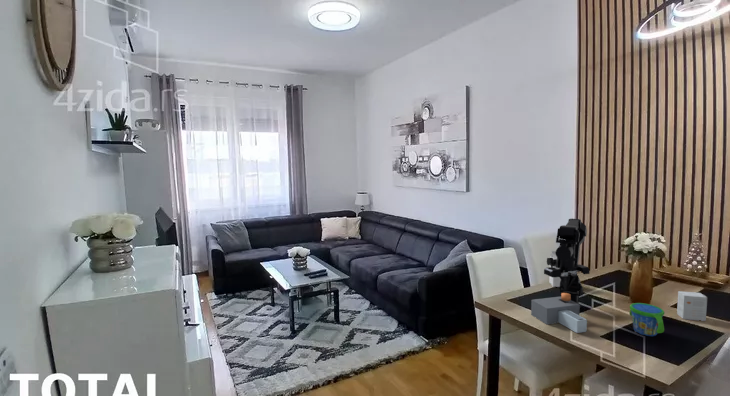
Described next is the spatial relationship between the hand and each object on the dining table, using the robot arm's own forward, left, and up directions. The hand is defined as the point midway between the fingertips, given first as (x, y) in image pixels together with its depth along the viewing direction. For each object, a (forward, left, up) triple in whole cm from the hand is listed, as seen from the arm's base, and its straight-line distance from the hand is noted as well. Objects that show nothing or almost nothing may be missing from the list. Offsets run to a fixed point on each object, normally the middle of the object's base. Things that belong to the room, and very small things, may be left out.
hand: (566, 289), depth 160 cm
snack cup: (-19, +21, -12) cm, 31 cm away
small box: (-50, +15, -12) cm, 53 cm away
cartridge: (+5, +6, -12) cm, 14 cm away
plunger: (0, 0, -5) cm, 5 cm away
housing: (+5, 0, -12) cm, 13 cm away
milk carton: (-26, -35, -12) cm, 45 cm away
